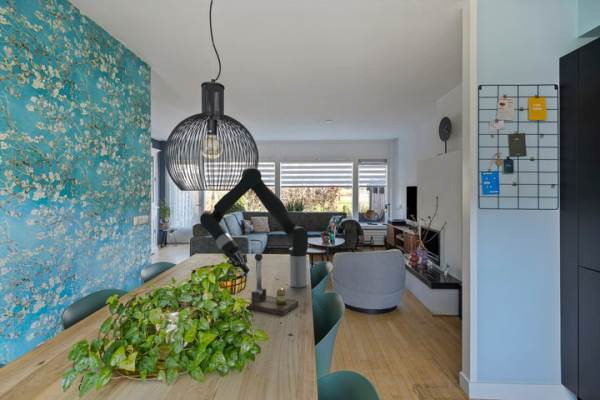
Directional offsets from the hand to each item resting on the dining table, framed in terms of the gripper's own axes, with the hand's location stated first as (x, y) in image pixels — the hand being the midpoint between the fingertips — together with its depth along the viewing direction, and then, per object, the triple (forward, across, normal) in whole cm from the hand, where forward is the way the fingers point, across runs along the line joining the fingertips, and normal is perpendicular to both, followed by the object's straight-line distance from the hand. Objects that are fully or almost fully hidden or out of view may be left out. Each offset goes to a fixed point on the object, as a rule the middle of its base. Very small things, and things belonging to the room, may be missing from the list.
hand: (247, 272), depth 148 cm
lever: (+12, 0, +3) cm, 12 cm away
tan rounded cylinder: (+22, 0, -4) cm, 22 cm away
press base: (+19, 0, +1) cm, 19 cm away
